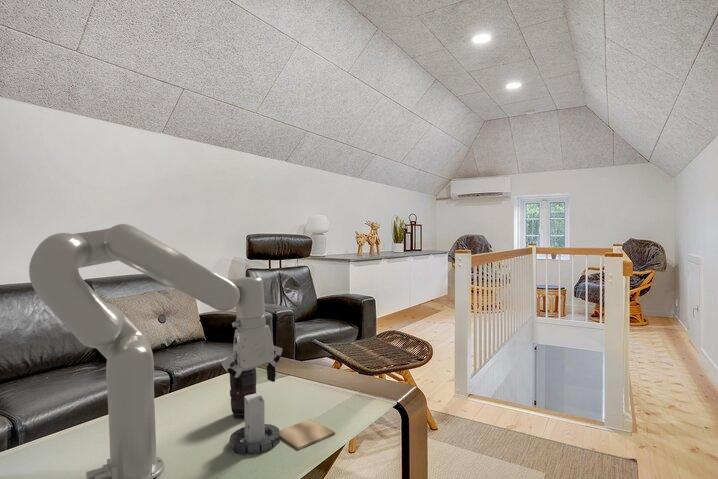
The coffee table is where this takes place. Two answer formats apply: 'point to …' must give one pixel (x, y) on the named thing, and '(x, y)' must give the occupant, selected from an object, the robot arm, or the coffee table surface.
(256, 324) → the robot arm
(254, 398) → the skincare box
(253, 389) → the camera lens
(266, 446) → the collar
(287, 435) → the pad
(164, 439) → the coffee table surface
